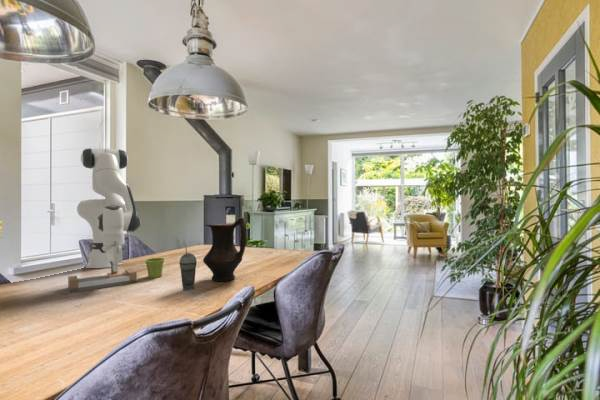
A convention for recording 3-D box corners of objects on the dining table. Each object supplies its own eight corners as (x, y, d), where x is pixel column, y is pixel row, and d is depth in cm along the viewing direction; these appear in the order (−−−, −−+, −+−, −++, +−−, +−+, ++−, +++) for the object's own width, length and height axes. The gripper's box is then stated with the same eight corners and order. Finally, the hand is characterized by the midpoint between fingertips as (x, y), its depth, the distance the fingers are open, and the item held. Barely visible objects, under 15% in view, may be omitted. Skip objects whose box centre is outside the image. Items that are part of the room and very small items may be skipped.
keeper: (107, 279, 161) (106, 260, 160) (119, 277, 164) (118, 259, 163) (109, 282, 155) (109, 262, 155) (121, 280, 158) (121, 261, 158)
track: (68, 287, 153) (68, 276, 153) (132, 278, 168) (131, 268, 168) (69, 292, 145) (69, 280, 145) (136, 282, 161) (136, 271, 160)
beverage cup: (191, 292, 144) (191, 244, 144) (176, 291, 145) (175, 244, 145) (200, 287, 151) (199, 242, 151) (185, 286, 152) (184, 241, 152)
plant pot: (151, 279, 166) (150, 262, 165) (141, 277, 171) (140, 259, 171) (168, 276, 173) (168, 259, 173) (158, 273, 179) (158, 257, 179)
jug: (195, 283, 158) (194, 218, 157) (213, 274, 176) (212, 216, 176) (239, 285, 154) (238, 218, 154) (252, 275, 172) (251, 216, 172)
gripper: (125, 242, 153) (126, 273, 153) (117, 238, 169) (117, 266, 169) (109, 243, 149) (110, 275, 149) (102, 239, 165) (103, 267, 165)
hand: (114, 270), depth 159 cm, fingers closed on keeper, 3 cm apart
